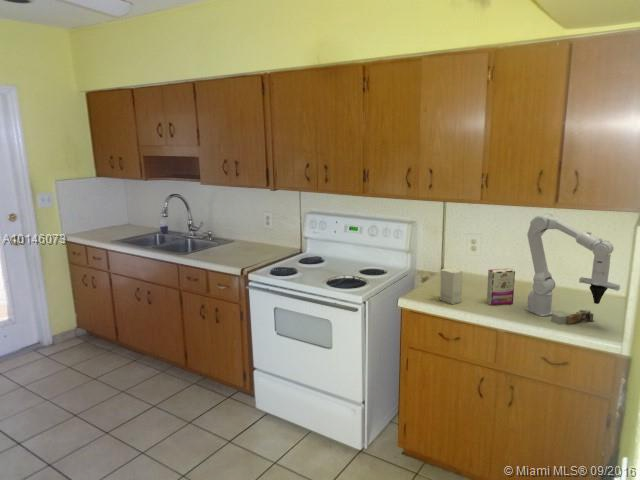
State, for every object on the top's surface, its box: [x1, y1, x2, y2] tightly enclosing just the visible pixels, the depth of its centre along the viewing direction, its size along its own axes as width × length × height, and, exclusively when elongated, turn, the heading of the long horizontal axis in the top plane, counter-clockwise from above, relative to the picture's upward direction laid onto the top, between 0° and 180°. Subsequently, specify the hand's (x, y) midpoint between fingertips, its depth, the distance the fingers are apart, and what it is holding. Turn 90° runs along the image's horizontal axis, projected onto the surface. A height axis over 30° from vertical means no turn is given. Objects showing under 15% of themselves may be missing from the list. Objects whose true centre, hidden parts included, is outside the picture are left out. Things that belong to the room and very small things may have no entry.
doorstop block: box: [550, 311, 568, 325], centre depth 196 cm, size 4×4×4 cm
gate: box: [567, 309, 592, 325], centre depth 195 cm, size 12×3×4 cm, turn 115°
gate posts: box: [579, 312, 595, 323], centre depth 197 cm, size 4×6×3 cm
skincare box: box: [439, 267, 463, 305], centre depth 220 cm, size 8×7×16 cm
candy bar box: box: [486, 267, 516, 306], centre depth 217 cm, size 11×5×16 cm, turn 99°
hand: (596, 303), depth 189 cm, fingers closed
